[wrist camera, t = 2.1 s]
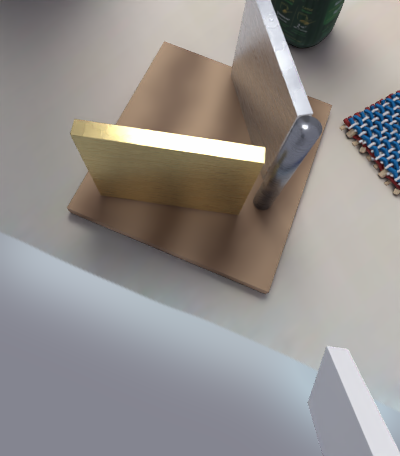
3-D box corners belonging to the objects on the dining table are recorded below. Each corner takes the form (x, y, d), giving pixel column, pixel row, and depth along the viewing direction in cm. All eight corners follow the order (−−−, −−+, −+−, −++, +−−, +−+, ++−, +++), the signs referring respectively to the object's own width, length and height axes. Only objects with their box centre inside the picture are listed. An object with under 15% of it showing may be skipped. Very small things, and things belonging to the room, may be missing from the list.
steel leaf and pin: (282, 210, 35) (345, 134, 22) (253, 216, 34) (299, 141, 22) (241, 80, 40) (273, -45, 27) (215, 84, 39) (235, -41, 26)
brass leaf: (239, 203, 33) (265, 147, 24) (238, 215, 33) (264, 163, 23) (103, 183, 33) (74, 118, 23) (100, 195, 32) (70, 134, 23)
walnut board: (70, 212, 33) (66, 207, 32) (164, 50, 40) (164, 41, 39) (265, 293, 32) (268, 292, 31) (327, 112, 39) (332, 105, 38)
